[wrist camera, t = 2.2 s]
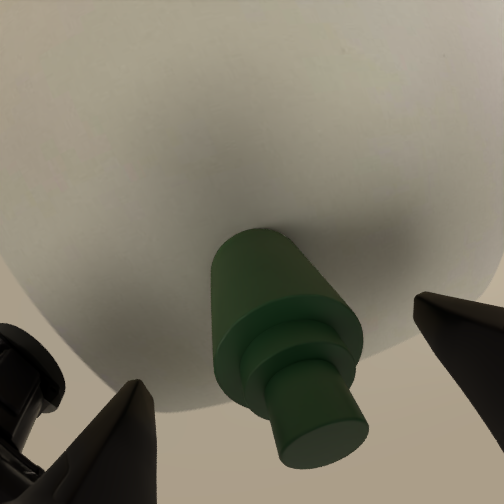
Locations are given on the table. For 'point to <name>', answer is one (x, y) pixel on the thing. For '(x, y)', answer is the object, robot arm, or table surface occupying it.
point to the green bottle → (286, 347)
